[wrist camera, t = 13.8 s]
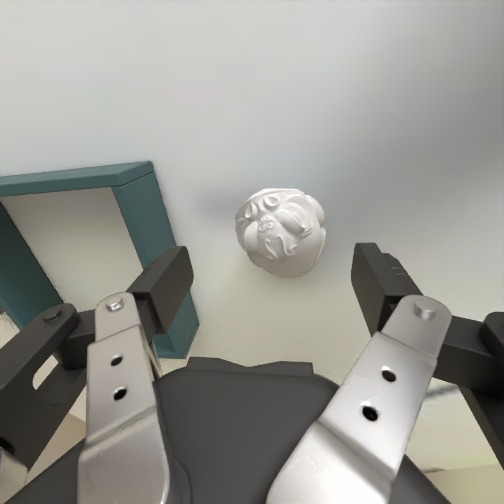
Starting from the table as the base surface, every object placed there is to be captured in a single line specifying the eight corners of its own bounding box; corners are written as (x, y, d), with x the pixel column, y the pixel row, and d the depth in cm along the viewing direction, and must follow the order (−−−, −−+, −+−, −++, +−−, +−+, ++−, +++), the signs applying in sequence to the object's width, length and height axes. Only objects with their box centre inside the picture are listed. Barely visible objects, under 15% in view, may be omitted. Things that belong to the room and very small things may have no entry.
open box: (-22, 179, 22) (-89, 193, 18) (151, 160, 19) (117, 173, 15) (71, 323, 30) (39, 355, 26) (199, 324, 28) (185, 359, 24)
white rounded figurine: (300, 154, 18) (309, 176, 12) (332, 234, 20) (353, 285, 14) (228, 191, 20) (204, 225, 14) (267, 259, 22) (260, 314, 16)
